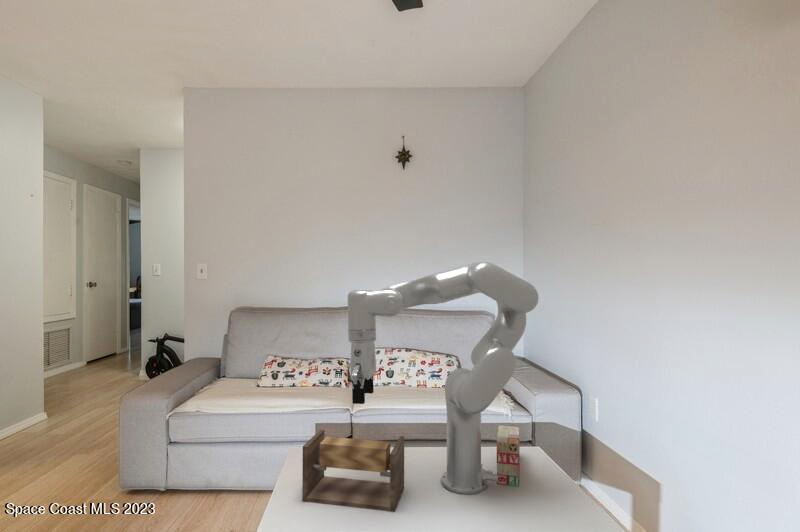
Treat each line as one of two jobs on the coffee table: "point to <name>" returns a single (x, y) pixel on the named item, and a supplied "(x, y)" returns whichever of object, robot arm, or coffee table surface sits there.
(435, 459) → the coffee table surface
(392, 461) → the shelf frame
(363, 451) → the shelf board
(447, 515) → the coffee table surface
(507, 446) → the stack of blocks
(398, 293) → the robot arm
